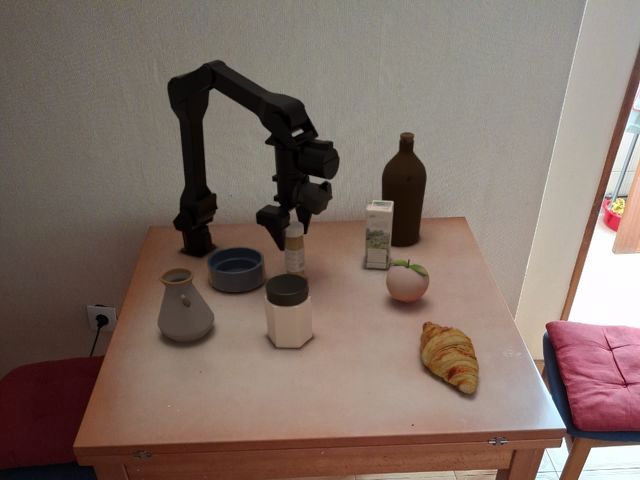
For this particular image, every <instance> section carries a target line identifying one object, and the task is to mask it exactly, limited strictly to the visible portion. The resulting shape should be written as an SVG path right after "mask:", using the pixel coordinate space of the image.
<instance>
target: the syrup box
mask: <svg viewBox="0 0 640 480" xmlns="http://www.w3.org/2000/svg"><path fill="white" fill-rule="evenodd" d="M393 206H394V202H393V201H382V200H380V199H379V200H377V199H369V200H368V202H367V205H366V211H365V243H364V244H365V246H364V269H373V270H385V271H386V270H388V271H389V267H390V264H389V263H390V262H391V254H392V253H391V251H392V249H391V247H392V245H391V234H392V221H393Z"/></svg>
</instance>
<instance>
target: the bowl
mask: <svg viewBox="0 0 640 480" xmlns="http://www.w3.org/2000/svg"><path fill="white" fill-rule="evenodd" d="M265 265H266V263H265V255H264V254H263V252H261V251H260V250H258V249H256V248H253V247H249V246H230V247H225V248H222V249H220V250H215V252H213V253H212V254H210V255H209V257H208V258H207V260H206V267H207V272H208V279H209V283H210V284H211V286H212V287H213V288H215V289H216V290H219V291H222V292H227V293H243V292H247V291H251V290H253V289H256V288H258V287H260V286H261V285H262V284H263V283H265V280H266V279H267V275H266V266H265Z"/></svg>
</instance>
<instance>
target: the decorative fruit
mask: <svg viewBox="0 0 640 480" xmlns="http://www.w3.org/2000/svg"><path fill="white" fill-rule="evenodd" d="M410 262H411V260H410V259H408V260H407V261H406V260H404V259H395V260H390V262H389V265H391V267H390V268H388V271H387V273H386V278H385V284H386V289H387V291H388V293H389V294H390V295H391V297H393V298H394V299H395V300H398V301H403V302H404V303H410V302H411V303H412V302H415V301H417V300H419V299H420V298H422V297H423V296H424V295H425V294H426V292H427V291H428V289H429V286H430V275H429V272H428V271H427V269H426V268H425V267H424V266H422V265H421V264H418V263H410Z"/></svg>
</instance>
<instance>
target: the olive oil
mask: <svg viewBox="0 0 640 480" xmlns="http://www.w3.org/2000/svg"><path fill="white" fill-rule="evenodd" d="M414 139H415V134H414V133H413V132H409V131H405V132H401V133H400V134H399V140H398V151H397V152H396V153H395V154H394V156H392V158H390V160H388V162H387V163H386V164H385V165H384V168H383V170H382V174H381V201H393V202H394V206H393V221H392V234H391V246H393V247H408V246H412V245H414V244H416V243H417V242H418V241H419V238H420V231H421V221H422V213H423V207H424V201H425V193H426V186H427V180H428V177H427V175H428V174H427V170H426V166H425V165H424V163H423V161H422V160H421V159H420V158H419V157H418V155H417V154H416V153H415V151H414V146H415V140H414Z"/></svg>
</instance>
